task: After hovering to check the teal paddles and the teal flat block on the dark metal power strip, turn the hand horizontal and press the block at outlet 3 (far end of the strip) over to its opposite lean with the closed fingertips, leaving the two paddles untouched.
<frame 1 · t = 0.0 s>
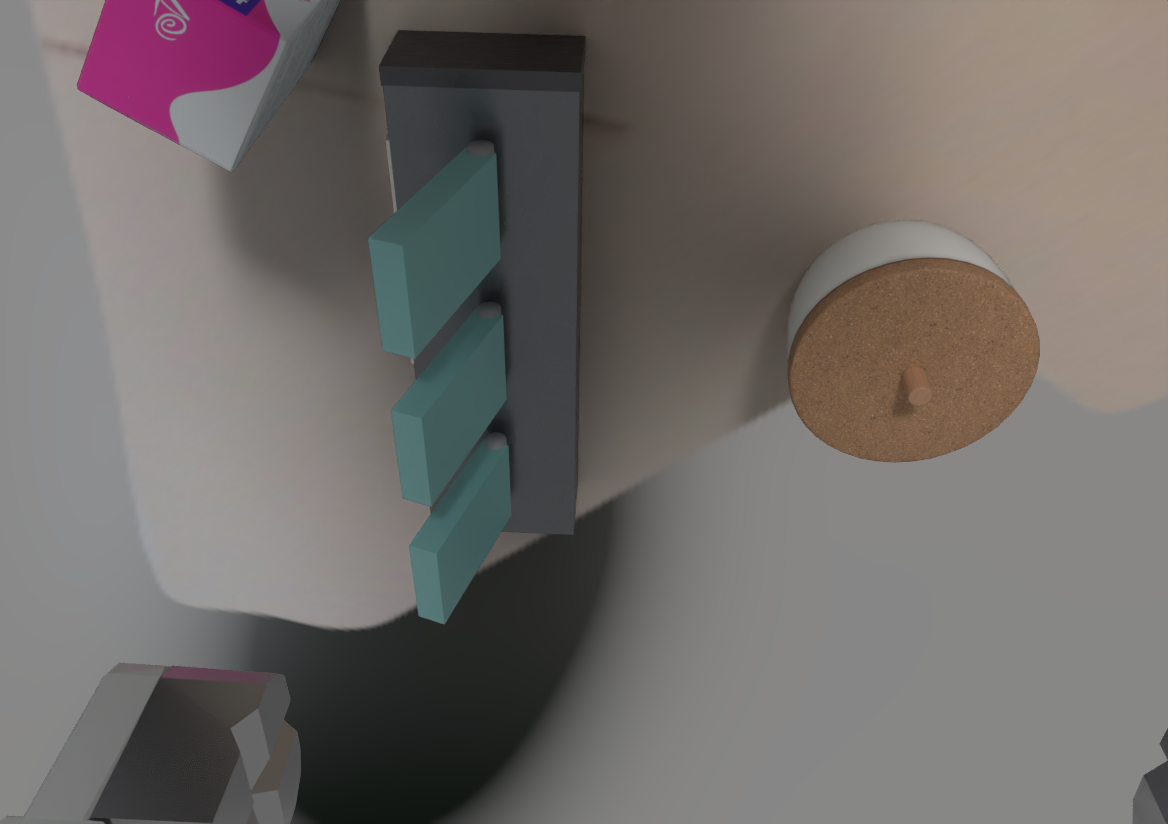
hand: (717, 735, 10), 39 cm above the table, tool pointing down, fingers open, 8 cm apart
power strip: (502, 299, 53), on the table
rocker 2: (456, 400, 47), point 8 cm above the table, hinge at -18.0°
rocker 1: (444, 246, 41), point 8 cm above the table, hinge at -18.0°
lidded jar: (881, 277, 51), on the table
teal flat block 3: (466, 525, 52), point 8 cm above the table, hinge at -18.0°
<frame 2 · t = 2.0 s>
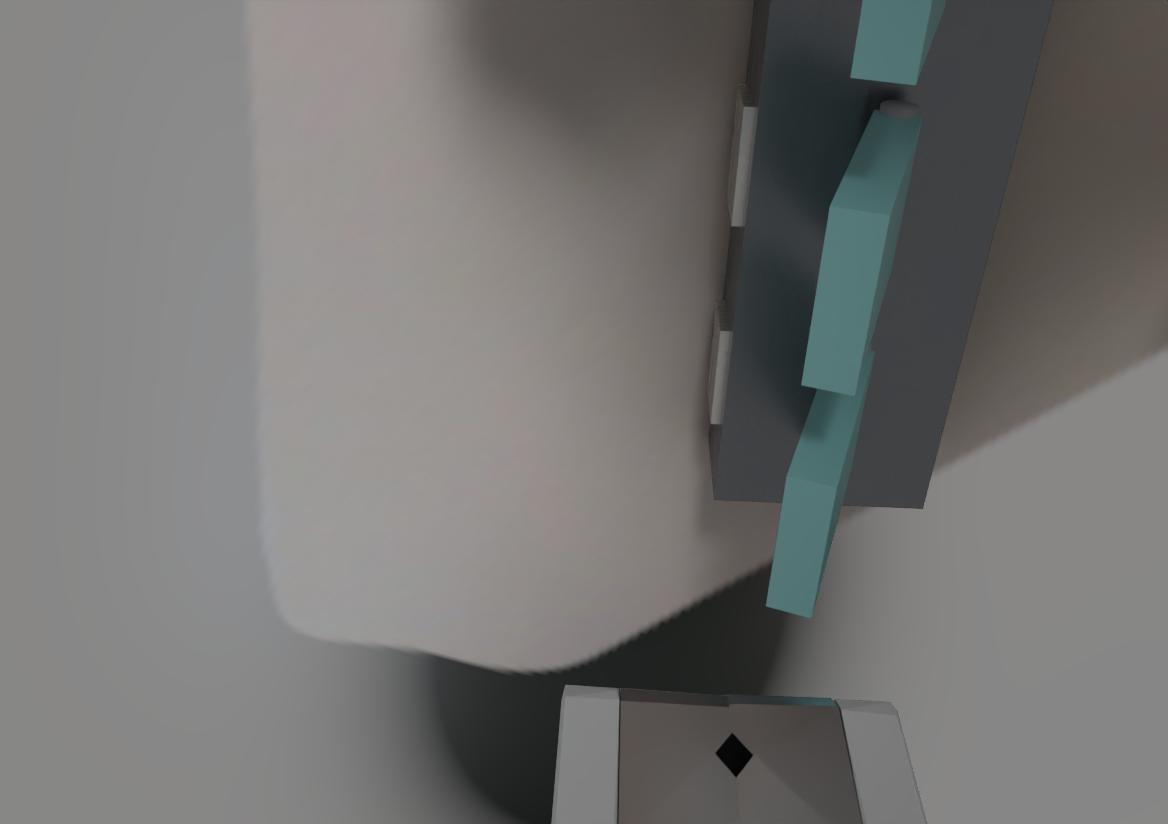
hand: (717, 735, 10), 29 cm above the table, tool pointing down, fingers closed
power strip: (855, 139, 36), on the table
rocker 2: (866, 239, 29), point 8 cm above the table, hinge at -18.0°
teal flat block 3: (824, 468, 33), point 8 cm above the table, hinge at -18.0°
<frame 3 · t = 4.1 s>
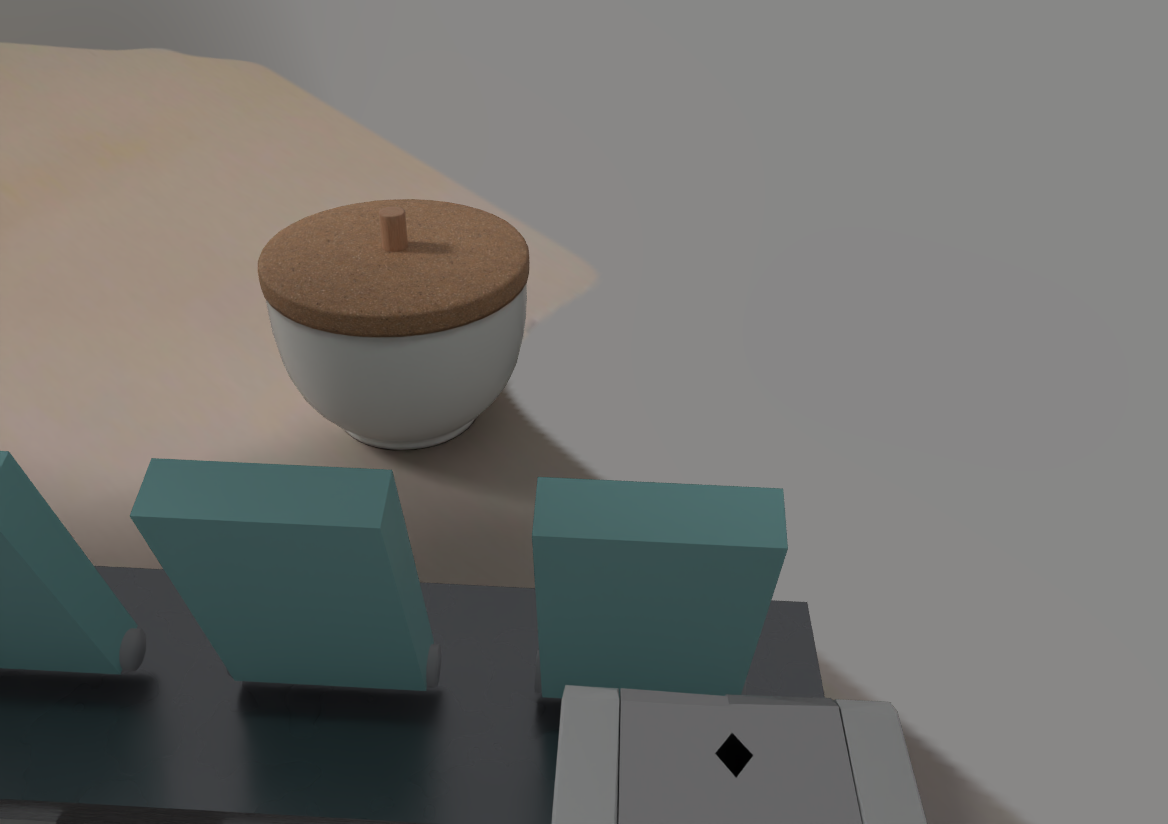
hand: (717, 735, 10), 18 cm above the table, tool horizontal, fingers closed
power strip: (354, 777, 30), on the table
rocker 2: (306, 593, 24), point 8 cm above the table, hinge at -18.0°
lidded jar: (409, 413, 46), on the table
teal flat block 3: (647, 610, 24), point 8 cm above the table, hinge at -18.0°
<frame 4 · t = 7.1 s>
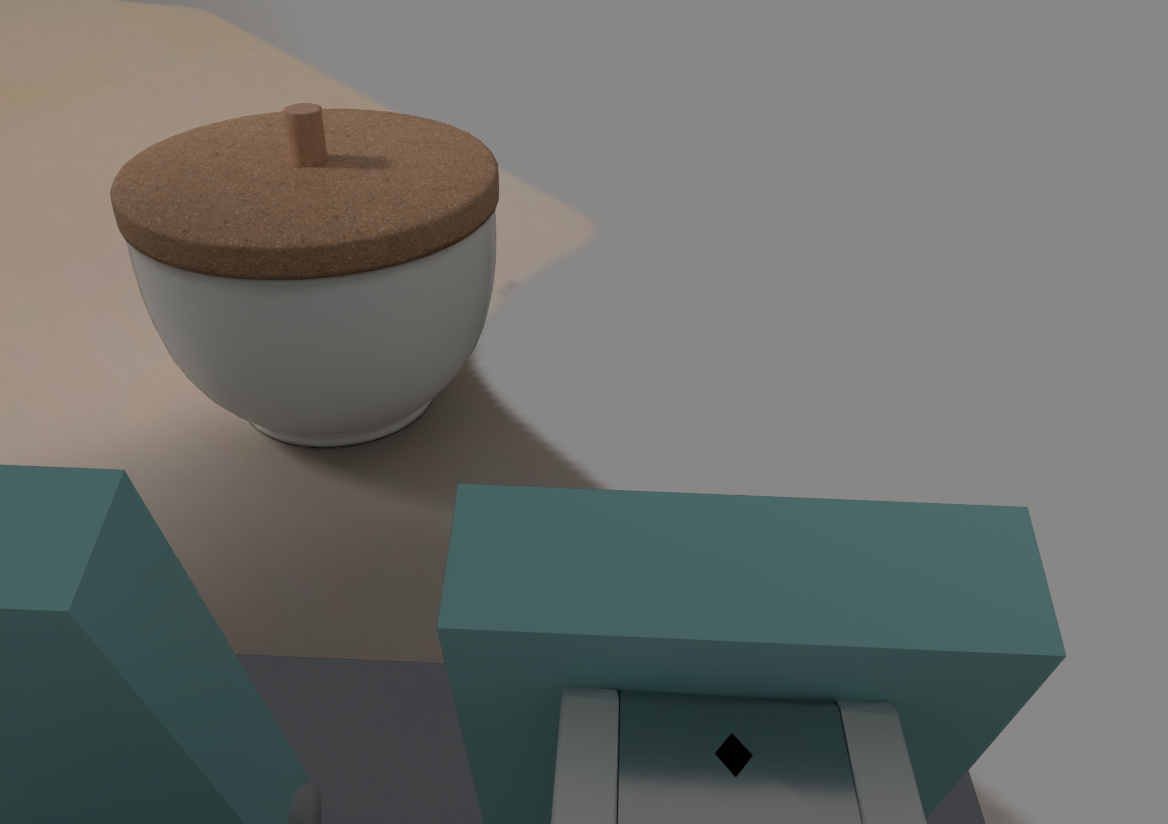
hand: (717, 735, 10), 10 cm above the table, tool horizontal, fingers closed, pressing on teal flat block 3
rocker 2: (21, 717, 12), point 8 cm above the table, hinge at -18.0°
lidded jar: (341, 398, 34), on the table
teal flat block 3: (698, 749, 12), point 8 cm above the table, hinge at -18.0°, touching gripper
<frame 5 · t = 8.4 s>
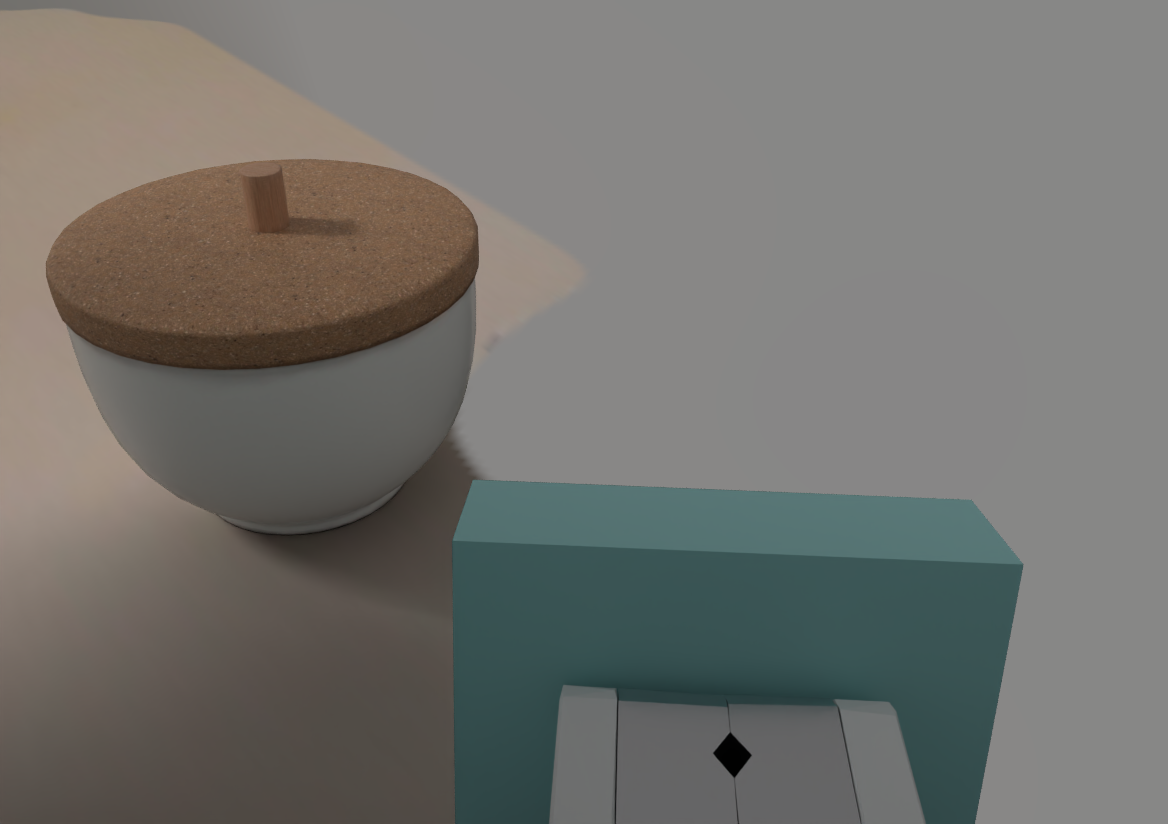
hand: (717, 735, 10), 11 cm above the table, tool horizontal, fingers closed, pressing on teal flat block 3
lidded jar: (308, 474, 31), on the table
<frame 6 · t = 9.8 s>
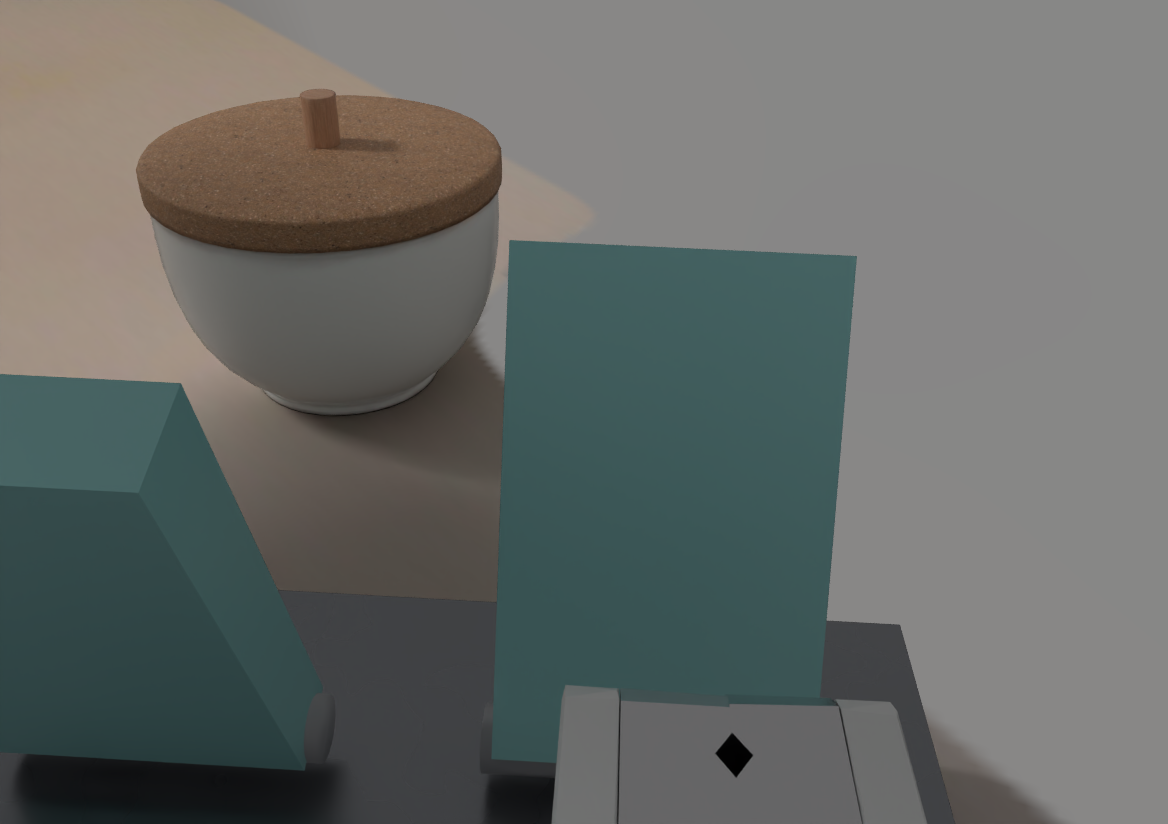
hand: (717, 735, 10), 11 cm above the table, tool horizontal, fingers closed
rocker 2: (77, 614, 14), point 8 cm above the table, hinge at -18.0°
lidded jar: (350, 371, 36), on the table
teal flat block 3: (663, 524, 16), point 8 cm above the table, hinge at 25.7°
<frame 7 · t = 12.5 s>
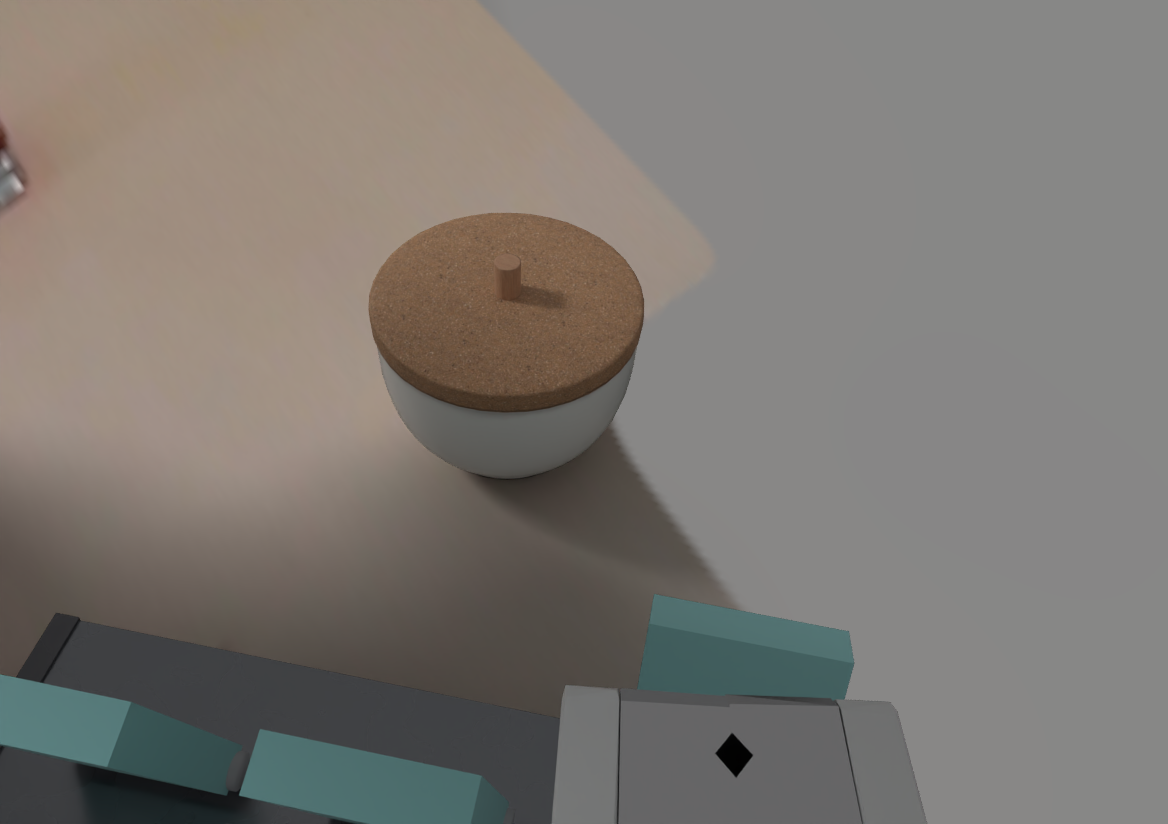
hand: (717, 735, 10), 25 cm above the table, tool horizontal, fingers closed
rocker 2: (395, 800, 26), point 8 cm above the table, hinge at -18.0°
rocker 1: (97, 736, 27), point 8 cm above the table, hinge at -18.0°
lidded jar: (508, 428, 46), on the table
teal flat block 3: (720, 763, 27), point 8 cm above the table, hinge at 25.9°
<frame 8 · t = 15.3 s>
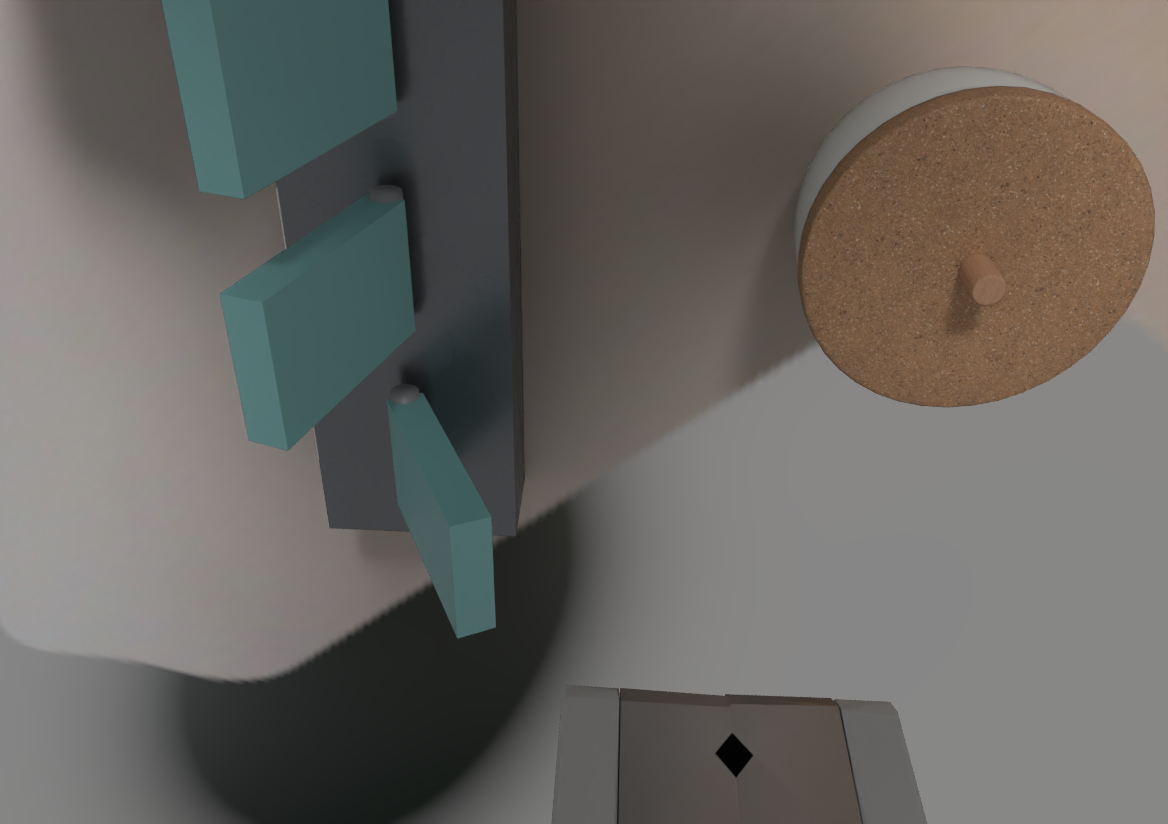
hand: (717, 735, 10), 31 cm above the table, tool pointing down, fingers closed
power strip: (417, 209, 40), on the table
rocker 2: (335, 310, 33), point 8 cm above the table, hinge at -18.0°
rocker 1: (301, 56, 29), point 8 cm above the table, hinge at -18.0°
lidded jar: (917, 174, 39), on the table
teal flat block 3: (437, 504, 38), point 8 cm above the table, hinge at 25.9°
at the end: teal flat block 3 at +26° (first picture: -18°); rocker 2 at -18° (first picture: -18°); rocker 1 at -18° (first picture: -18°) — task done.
